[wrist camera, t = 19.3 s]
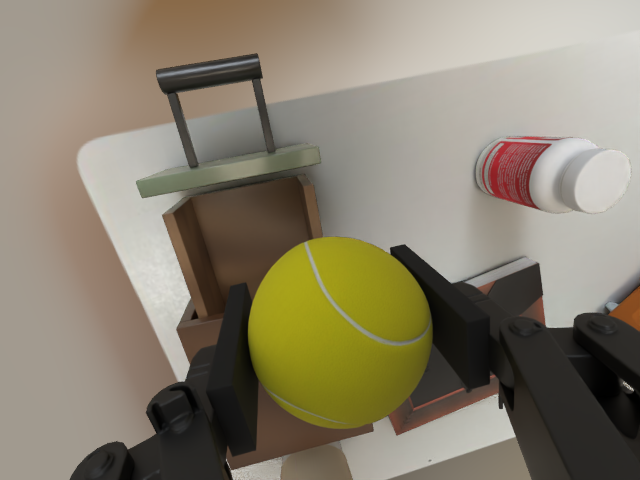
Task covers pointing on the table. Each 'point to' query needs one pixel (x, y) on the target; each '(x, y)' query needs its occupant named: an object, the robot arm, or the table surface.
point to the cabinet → (261, 404)
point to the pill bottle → (553, 173)
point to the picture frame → (439, 378)
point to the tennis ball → (339, 332)
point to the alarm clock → (627, 309)
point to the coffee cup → (317, 464)
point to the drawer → (232, 196)
